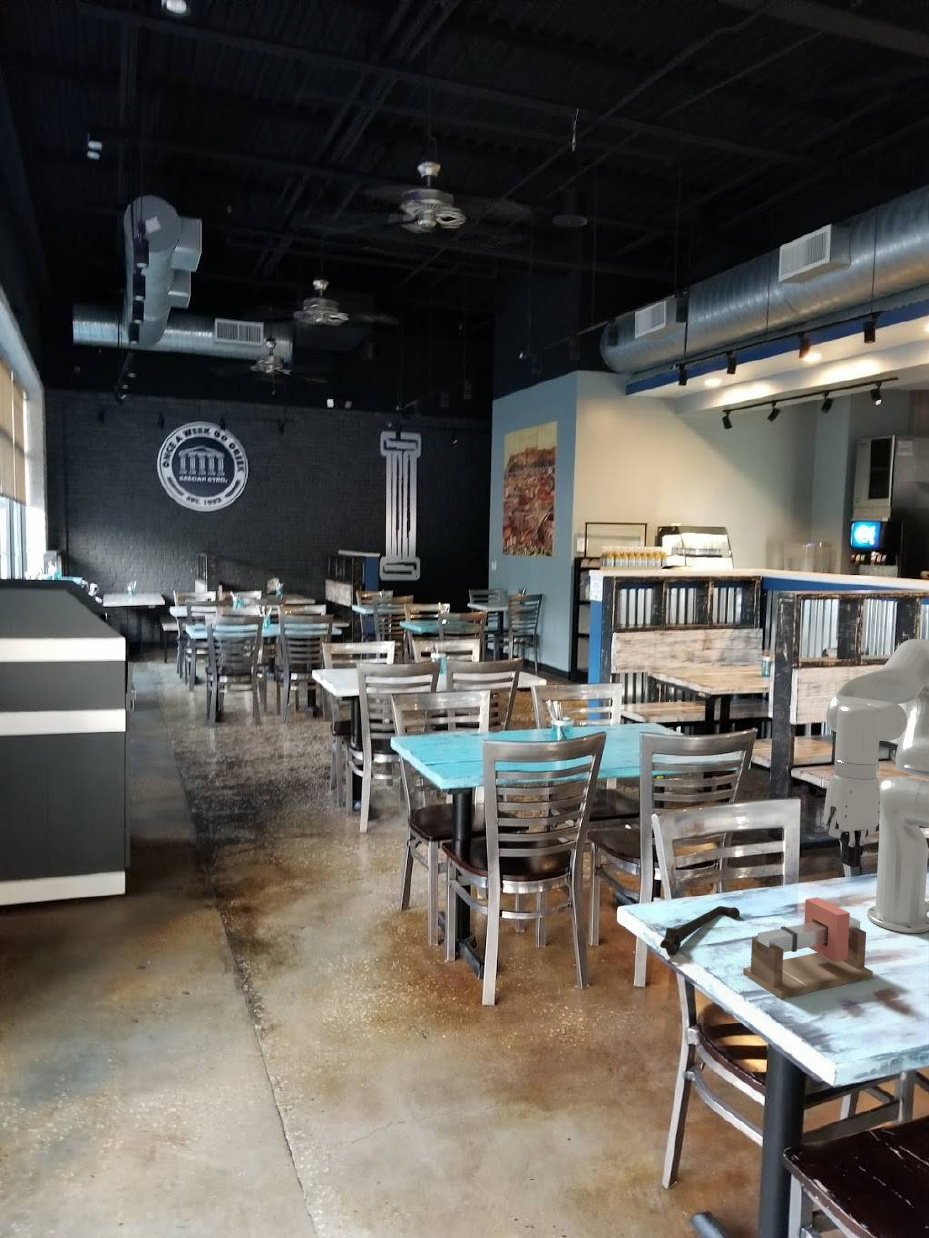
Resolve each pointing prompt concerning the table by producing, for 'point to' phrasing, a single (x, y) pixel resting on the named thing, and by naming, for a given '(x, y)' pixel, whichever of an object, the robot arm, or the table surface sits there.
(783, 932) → the rod
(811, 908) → the salmon pink rectangular block
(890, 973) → the table surface
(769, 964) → the pipe stand
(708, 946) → the table surface
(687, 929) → the wrench
